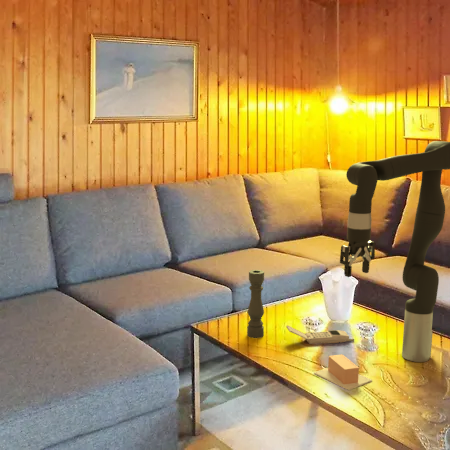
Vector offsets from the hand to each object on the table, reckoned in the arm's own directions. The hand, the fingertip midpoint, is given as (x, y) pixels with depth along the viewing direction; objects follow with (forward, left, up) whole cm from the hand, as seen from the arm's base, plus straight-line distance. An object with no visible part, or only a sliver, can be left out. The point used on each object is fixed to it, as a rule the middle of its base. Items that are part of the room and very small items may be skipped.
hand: (356, 274), depth 205 cm
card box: (+9, +4, -32) cm, 33 cm away
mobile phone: (-8, -23, -33) cm, 40 cm away
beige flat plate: (+9, +4, -32) cm, 34 cm away
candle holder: (+8, -41, -32) cm, 53 cm away
